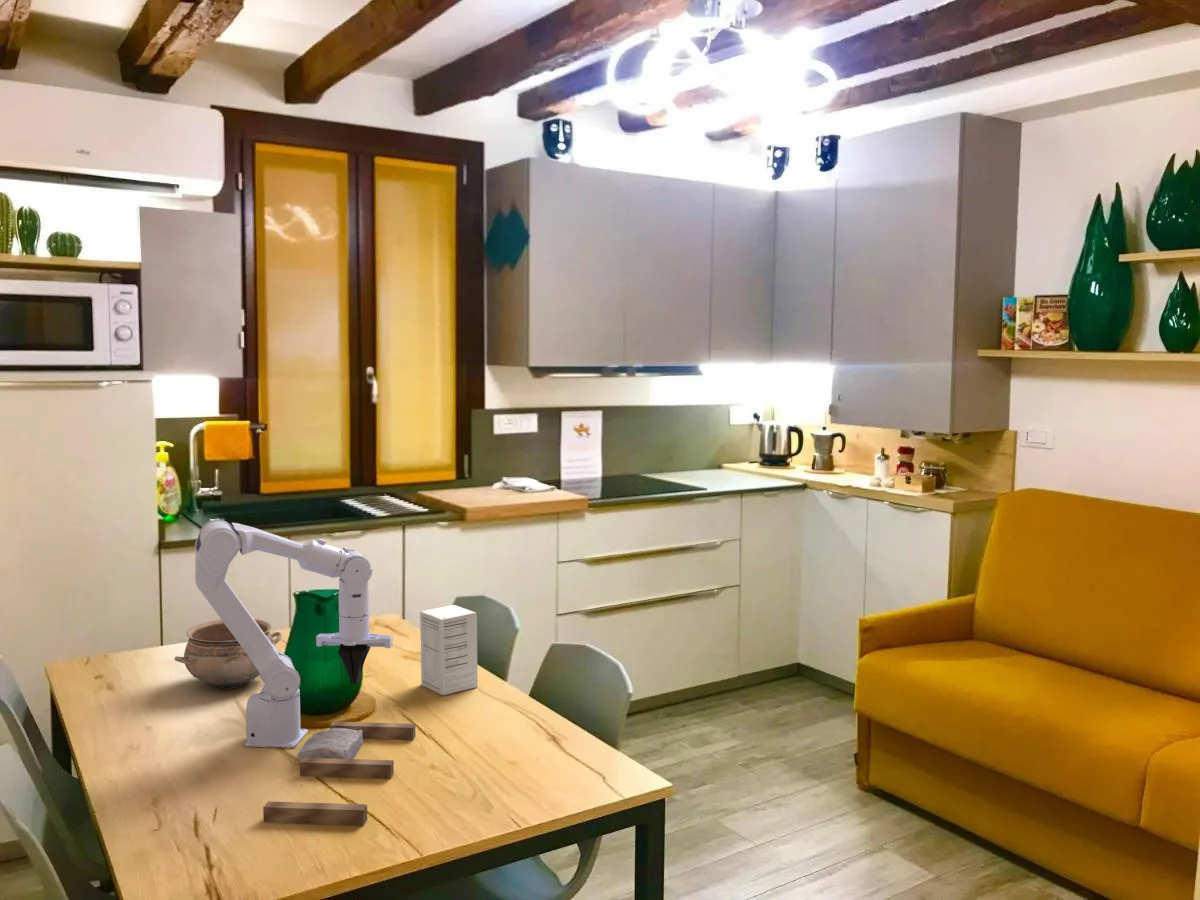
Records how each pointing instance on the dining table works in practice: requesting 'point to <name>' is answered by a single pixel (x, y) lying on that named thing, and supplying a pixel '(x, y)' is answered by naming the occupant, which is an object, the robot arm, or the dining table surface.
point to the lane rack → (340, 768)
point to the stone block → (332, 744)
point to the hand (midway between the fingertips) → (355, 682)
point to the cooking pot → (220, 655)
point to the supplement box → (448, 649)
